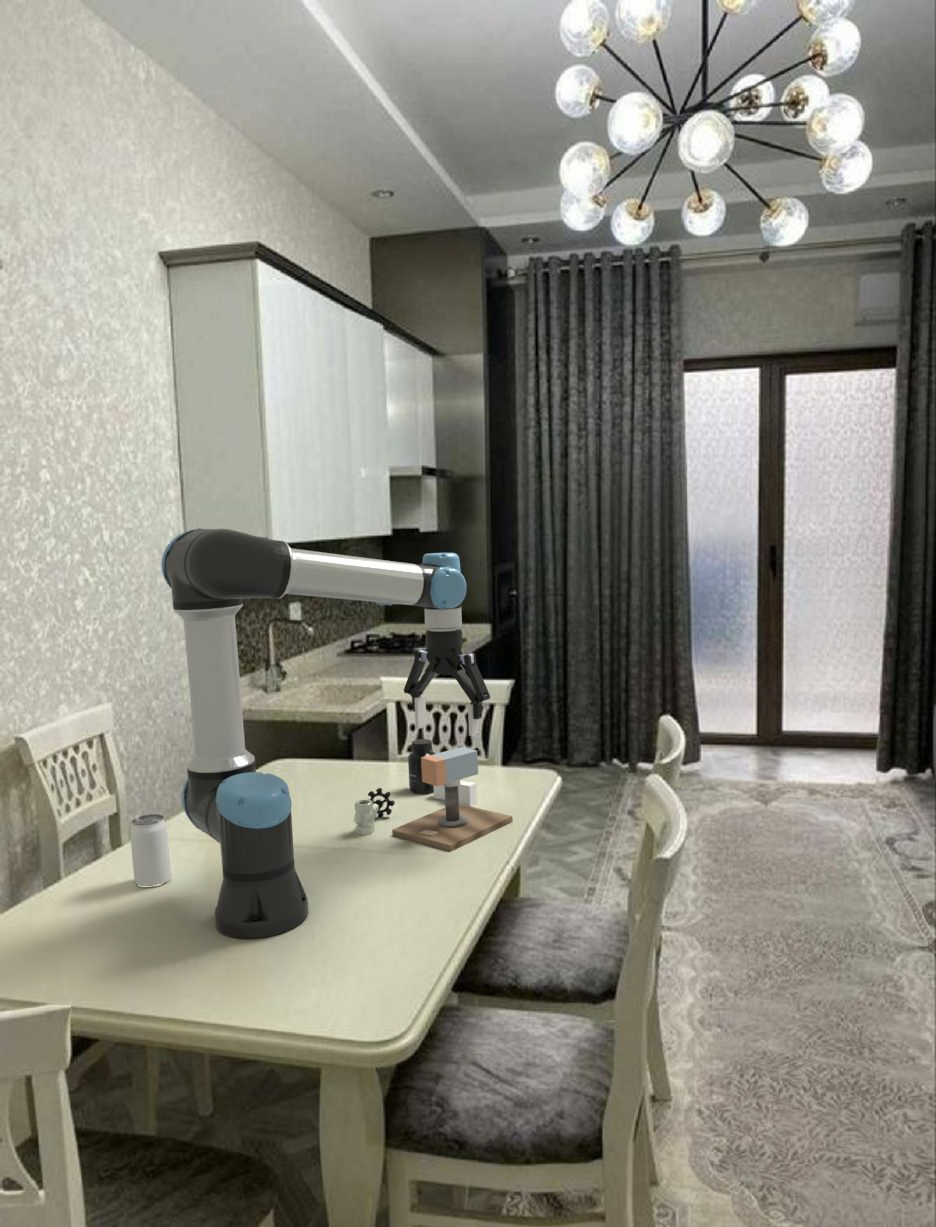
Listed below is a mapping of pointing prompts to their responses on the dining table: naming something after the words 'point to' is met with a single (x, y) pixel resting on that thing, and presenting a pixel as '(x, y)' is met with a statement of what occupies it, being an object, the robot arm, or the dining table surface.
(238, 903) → the robot arm
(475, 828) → the board
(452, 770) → the blue-orange block
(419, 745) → the supplement bottle
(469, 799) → the white stepped block
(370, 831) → the valve
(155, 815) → the can
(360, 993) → the dining table surface
